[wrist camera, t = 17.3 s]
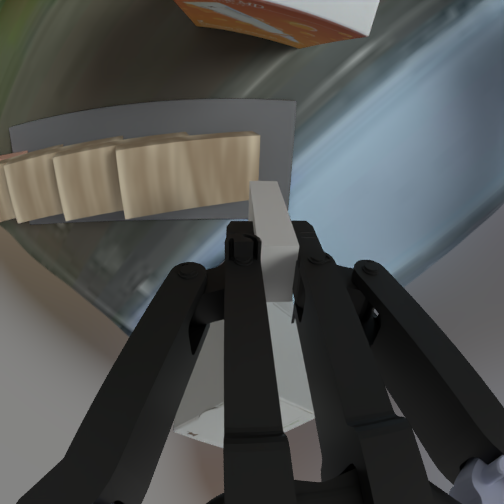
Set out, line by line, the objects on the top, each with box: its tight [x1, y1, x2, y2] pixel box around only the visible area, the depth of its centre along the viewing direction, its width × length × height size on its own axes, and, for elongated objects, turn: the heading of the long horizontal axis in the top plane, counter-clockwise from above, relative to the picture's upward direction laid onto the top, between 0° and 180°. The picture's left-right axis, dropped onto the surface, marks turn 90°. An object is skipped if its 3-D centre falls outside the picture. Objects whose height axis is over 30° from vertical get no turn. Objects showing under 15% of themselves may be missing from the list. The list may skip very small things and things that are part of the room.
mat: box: [9, 98, 297, 225], centre depth 24 cm, size 25×10×1 cm, turn 88°
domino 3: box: [53, 132, 189, 221], centre depth 21 cm, size 2×5×10 cm
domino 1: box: [0, 144, 64, 222], centre depth 20 cm, size 2×5×10 cm
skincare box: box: [173, 260, 315, 448], centre depth 25 cm, size 8×7×16 cm
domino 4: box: [116, 131, 260, 219], centre depth 22 cm, size 2×5×10 cm
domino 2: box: [4, 136, 123, 223], centre depth 21 cm, size 2×5×10 cm
